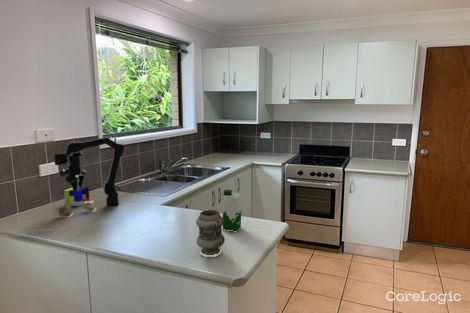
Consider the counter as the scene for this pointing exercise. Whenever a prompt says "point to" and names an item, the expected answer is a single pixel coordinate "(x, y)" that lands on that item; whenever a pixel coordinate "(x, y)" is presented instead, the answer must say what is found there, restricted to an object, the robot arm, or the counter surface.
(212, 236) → the apothecary jar
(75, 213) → the mat
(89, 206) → the maple cube
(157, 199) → the counter surface
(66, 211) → the walnut cube
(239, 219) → the milk carton
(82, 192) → the puzzle toy
